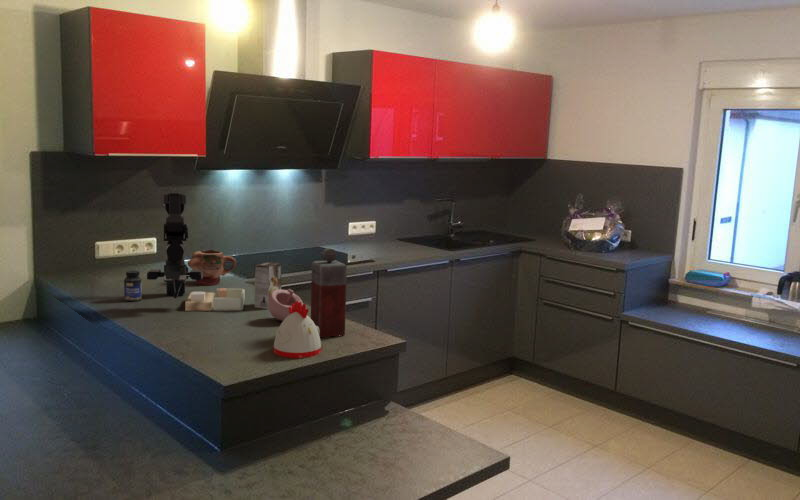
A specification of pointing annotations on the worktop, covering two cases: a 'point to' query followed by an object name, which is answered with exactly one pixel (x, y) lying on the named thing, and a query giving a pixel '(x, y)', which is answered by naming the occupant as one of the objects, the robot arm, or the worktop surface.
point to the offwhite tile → (198, 296)
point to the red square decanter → (329, 294)
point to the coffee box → (266, 282)
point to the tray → (229, 300)
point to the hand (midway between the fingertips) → (175, 297)
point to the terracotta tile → (222, 293)
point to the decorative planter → (210, 265)
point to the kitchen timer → (297, 334)
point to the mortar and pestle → (282, 303)
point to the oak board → (200, 303)
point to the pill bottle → (132, 286)
